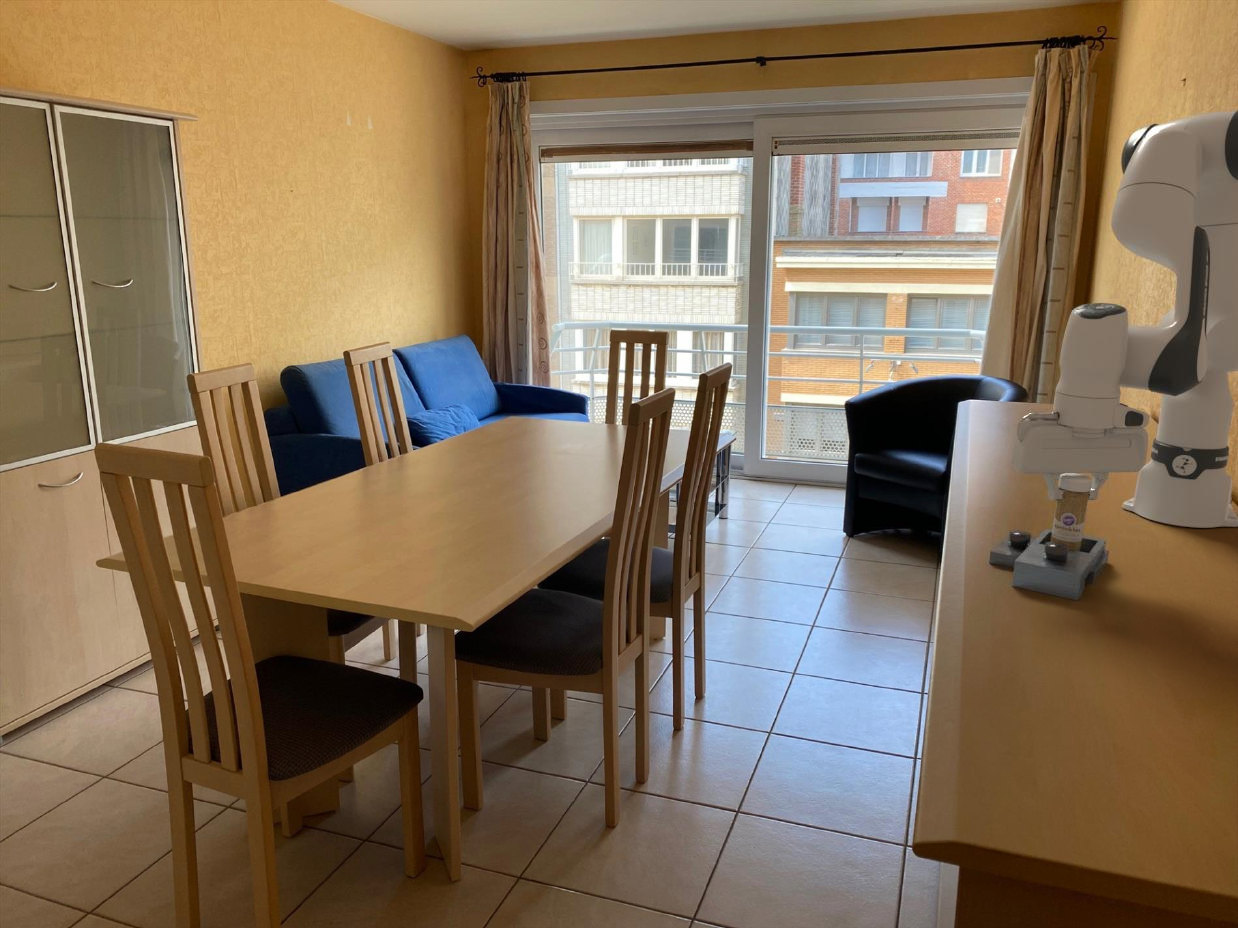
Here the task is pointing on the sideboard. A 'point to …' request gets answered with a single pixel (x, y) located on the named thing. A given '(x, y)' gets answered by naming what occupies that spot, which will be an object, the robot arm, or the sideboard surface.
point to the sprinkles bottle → (1071, 510)
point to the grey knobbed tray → (1021, 541)
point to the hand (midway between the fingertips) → (1072, 499)
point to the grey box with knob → (1056, 566)
